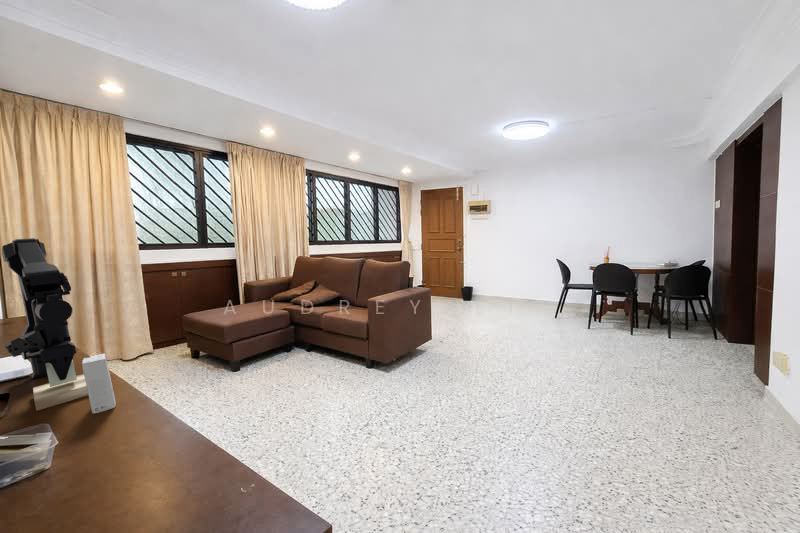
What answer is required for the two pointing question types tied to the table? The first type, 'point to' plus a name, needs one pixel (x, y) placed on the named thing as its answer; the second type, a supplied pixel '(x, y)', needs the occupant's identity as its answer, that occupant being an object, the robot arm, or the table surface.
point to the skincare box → (98, 383)
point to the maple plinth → (59, 393)
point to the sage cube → (55, 379)
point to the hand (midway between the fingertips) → (62, 377)
